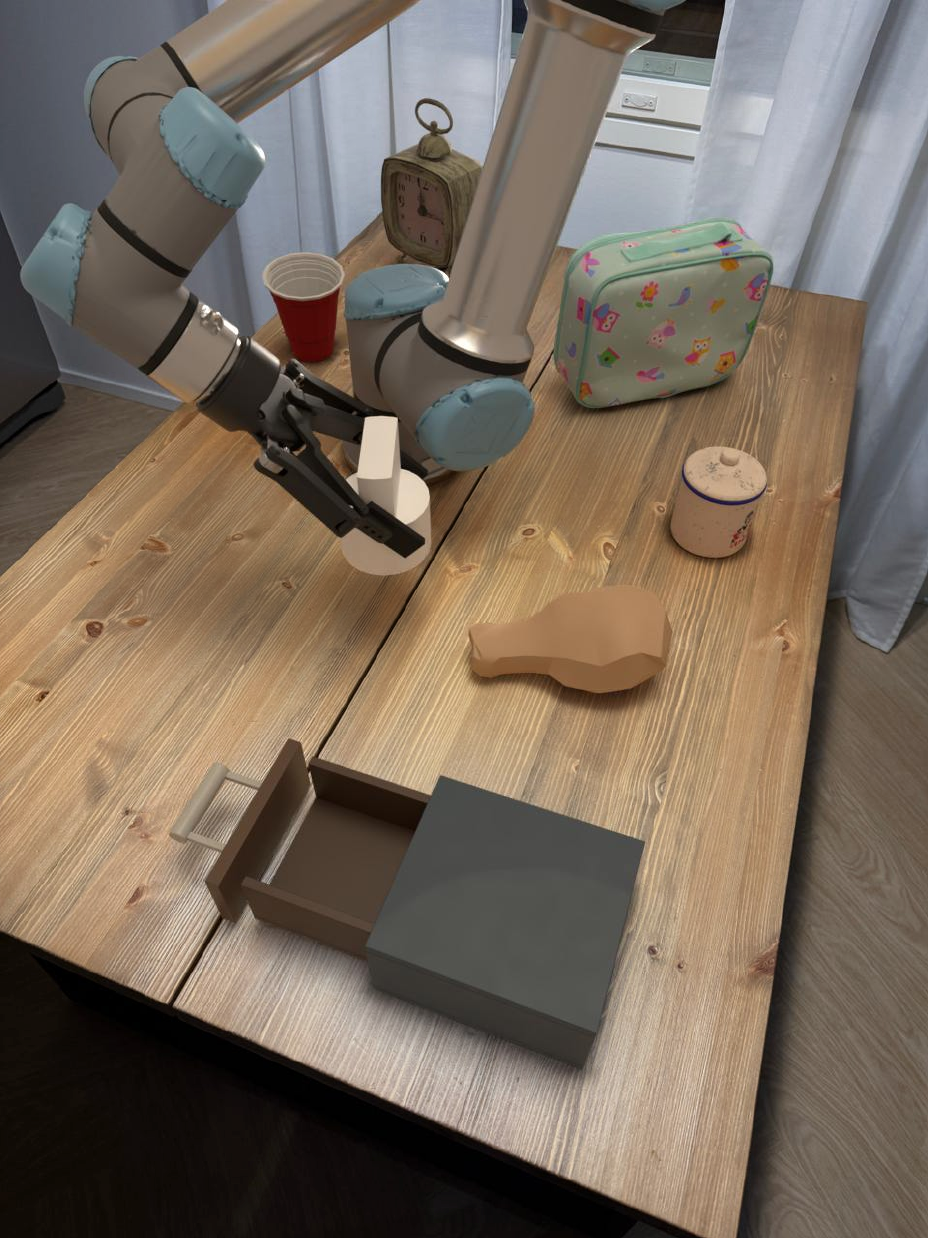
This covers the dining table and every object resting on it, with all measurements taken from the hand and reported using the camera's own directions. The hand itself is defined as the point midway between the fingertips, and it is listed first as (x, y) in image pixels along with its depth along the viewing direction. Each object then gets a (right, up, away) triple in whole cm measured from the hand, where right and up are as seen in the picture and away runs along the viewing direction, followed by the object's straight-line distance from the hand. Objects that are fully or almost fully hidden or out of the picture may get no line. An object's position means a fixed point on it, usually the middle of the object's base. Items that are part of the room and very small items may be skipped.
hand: (416, 512), depth 86 cm
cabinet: (+8, -36, -14) cm, 39 cm away
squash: (+15, -15, +4) cm, 22 cm away
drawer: (-8, -31, -11) cm, 34 cm away
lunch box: (+30, +22, +37) cm, 53 cm away
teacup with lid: (+33, +1, +18) cm, 38 cm away
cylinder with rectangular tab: (-3, -3, +3) cm, 5 cm away
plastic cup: (-17, +28, +41) cm, 52 cm away
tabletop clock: (0, +45, +57) cm, 72 cm away
